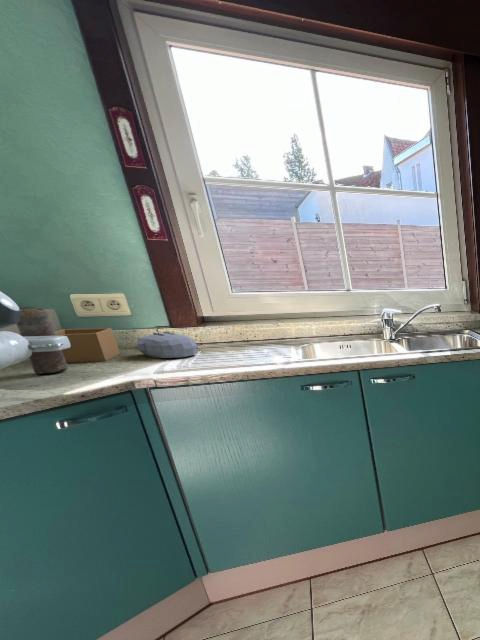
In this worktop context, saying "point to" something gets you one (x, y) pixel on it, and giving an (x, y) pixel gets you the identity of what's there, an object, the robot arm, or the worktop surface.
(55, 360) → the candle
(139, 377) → the worktop surface
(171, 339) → the grey rounded bag
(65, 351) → the carton
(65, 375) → the worktop surface
